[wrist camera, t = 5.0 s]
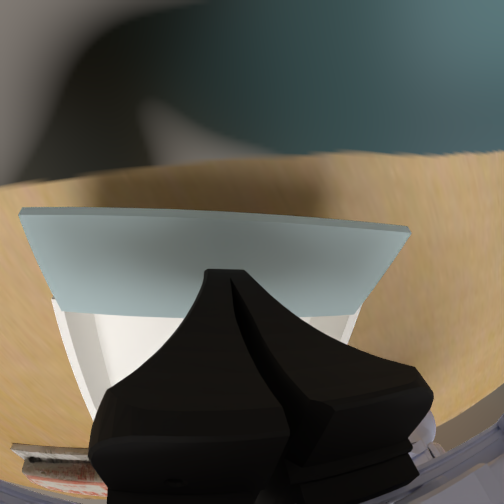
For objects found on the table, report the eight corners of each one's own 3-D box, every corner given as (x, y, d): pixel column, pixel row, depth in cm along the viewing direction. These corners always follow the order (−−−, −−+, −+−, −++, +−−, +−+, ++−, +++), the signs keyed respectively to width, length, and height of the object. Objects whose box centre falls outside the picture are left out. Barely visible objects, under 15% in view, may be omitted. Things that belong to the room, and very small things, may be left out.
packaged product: (110, 479, 23) (149, 505, 28) (113, 444, 27) (148, 475, 32) (4, 466, 22) (47, 496, 26) (11, 440, 26) (51, 472, 31)
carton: (328, 262, 21) (362, 304, 16) (276, 433, 30) (287, 471, 25) (79, 254, 17) (51, 298, 13) (124, 436, 26) (121, 475, 22)
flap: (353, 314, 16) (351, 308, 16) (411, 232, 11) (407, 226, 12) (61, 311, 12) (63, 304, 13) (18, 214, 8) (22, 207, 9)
